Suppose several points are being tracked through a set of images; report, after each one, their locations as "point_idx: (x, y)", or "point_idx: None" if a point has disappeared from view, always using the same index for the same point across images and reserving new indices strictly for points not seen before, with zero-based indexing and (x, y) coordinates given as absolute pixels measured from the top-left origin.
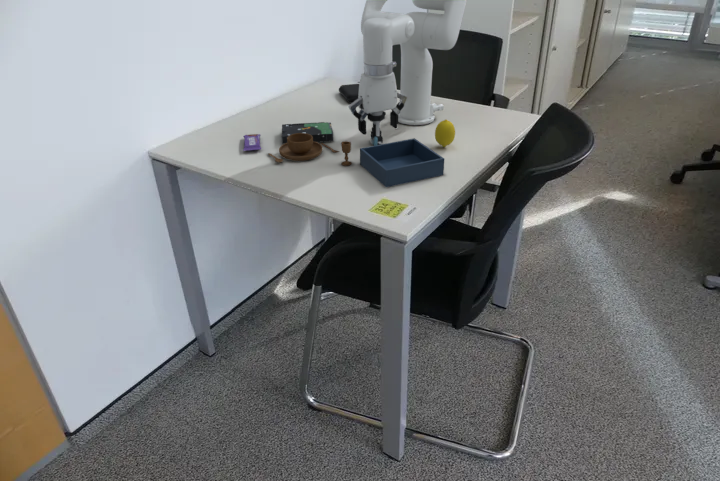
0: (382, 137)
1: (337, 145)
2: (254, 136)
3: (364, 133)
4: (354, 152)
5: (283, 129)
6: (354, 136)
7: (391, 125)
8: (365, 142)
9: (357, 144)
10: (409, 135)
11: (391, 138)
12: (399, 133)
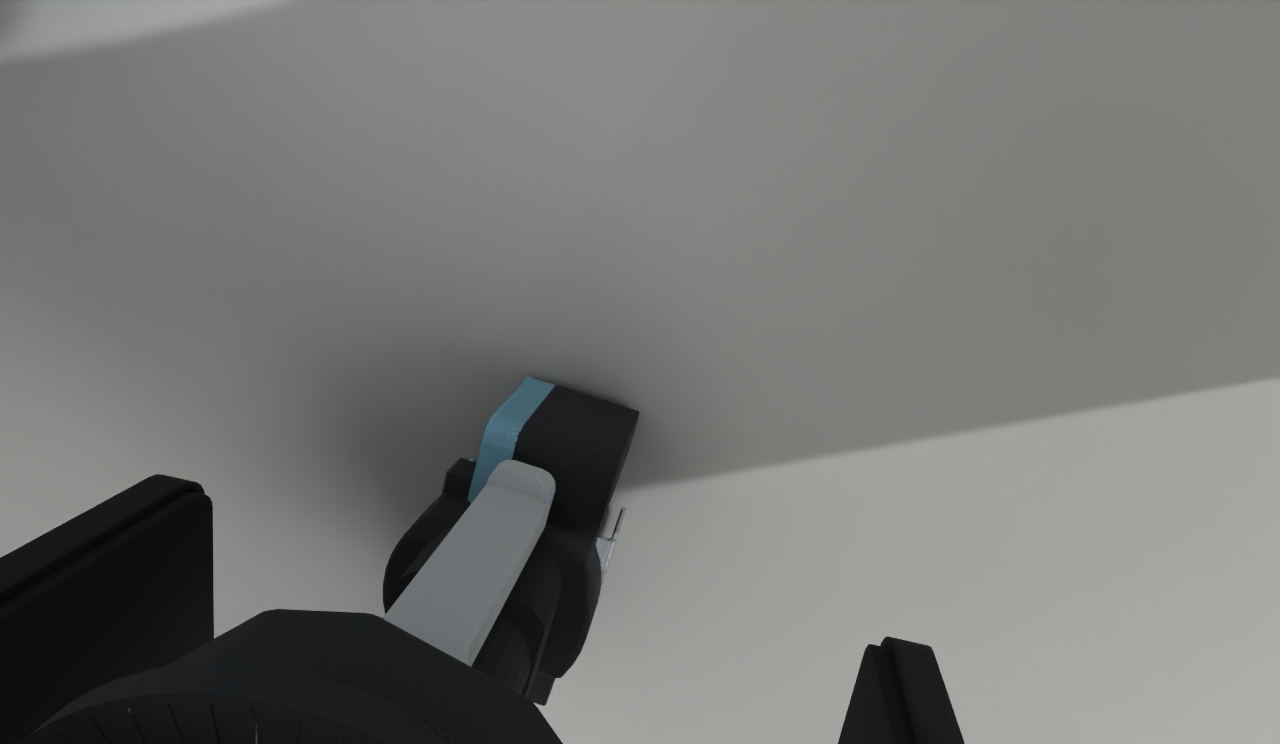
0: (541, 704)
1: (28, 198)
2: None
3: None
4: None
5: None
6: (419, 9)
7: (855, 697)
8: (444, 354)
9: (303, 347)
10: (1226, 547)
11: (885, 468)
12: (1169, 375)
